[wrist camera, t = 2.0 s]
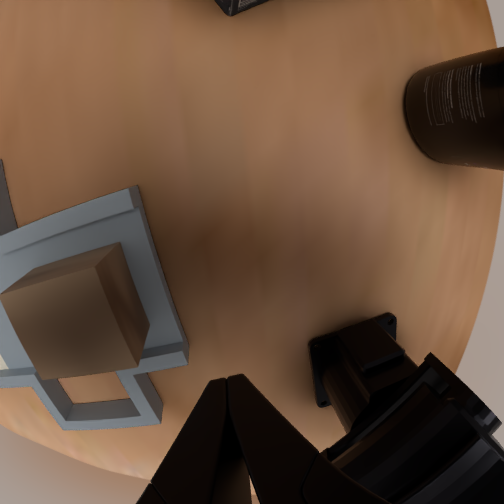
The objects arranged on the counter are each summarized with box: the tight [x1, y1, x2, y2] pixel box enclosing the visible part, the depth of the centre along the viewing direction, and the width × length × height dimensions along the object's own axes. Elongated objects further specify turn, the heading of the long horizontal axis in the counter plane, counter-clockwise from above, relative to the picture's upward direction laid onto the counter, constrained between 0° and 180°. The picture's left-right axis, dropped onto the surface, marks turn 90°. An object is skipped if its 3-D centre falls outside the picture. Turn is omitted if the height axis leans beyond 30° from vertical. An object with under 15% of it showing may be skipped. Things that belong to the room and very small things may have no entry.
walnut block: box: [0, 242, 150, 380], centre depth 14 cm, size 5×6×4 cm
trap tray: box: [0, 160, 189, 430], centre depth 15 cm, size 20×19×2 cm
